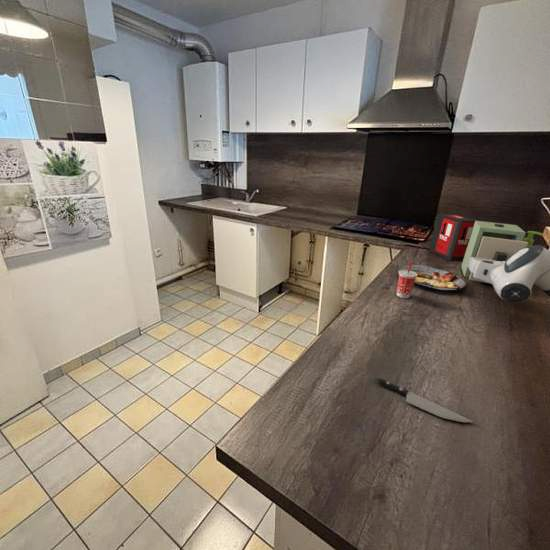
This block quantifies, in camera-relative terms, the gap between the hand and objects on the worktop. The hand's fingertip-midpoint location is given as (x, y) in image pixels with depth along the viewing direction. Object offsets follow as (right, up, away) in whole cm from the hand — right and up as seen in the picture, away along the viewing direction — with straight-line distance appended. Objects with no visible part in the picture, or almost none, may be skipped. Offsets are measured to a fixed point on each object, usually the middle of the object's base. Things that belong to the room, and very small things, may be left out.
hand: (498, 261), depth 111 cm
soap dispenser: (+23, -5, +19) cm, 30 cm away
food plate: (-21, -8, +10) cm, 24 cm away
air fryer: (+7, -5, +18) cm, 20 cm away
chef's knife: (-55, -32, -50) cm, 81 cm away
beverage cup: (-38, -13, -3) cm, 40 cm away
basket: (+2, -7, +9) cm, 11 cm away
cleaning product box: (+5, +5, +42) cm, 43 cm away
